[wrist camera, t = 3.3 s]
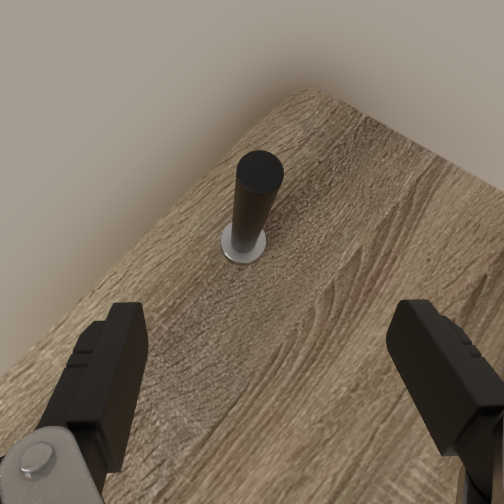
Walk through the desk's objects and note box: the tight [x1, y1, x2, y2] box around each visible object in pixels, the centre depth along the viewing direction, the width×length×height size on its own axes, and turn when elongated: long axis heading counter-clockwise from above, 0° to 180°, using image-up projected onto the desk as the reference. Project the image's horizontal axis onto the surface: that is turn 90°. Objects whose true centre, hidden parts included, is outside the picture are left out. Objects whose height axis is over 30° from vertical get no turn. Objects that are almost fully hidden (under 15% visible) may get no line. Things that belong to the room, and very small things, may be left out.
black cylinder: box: [220, 150, 284, 266], centre depth 21 cm, size 4×4×14 cm
